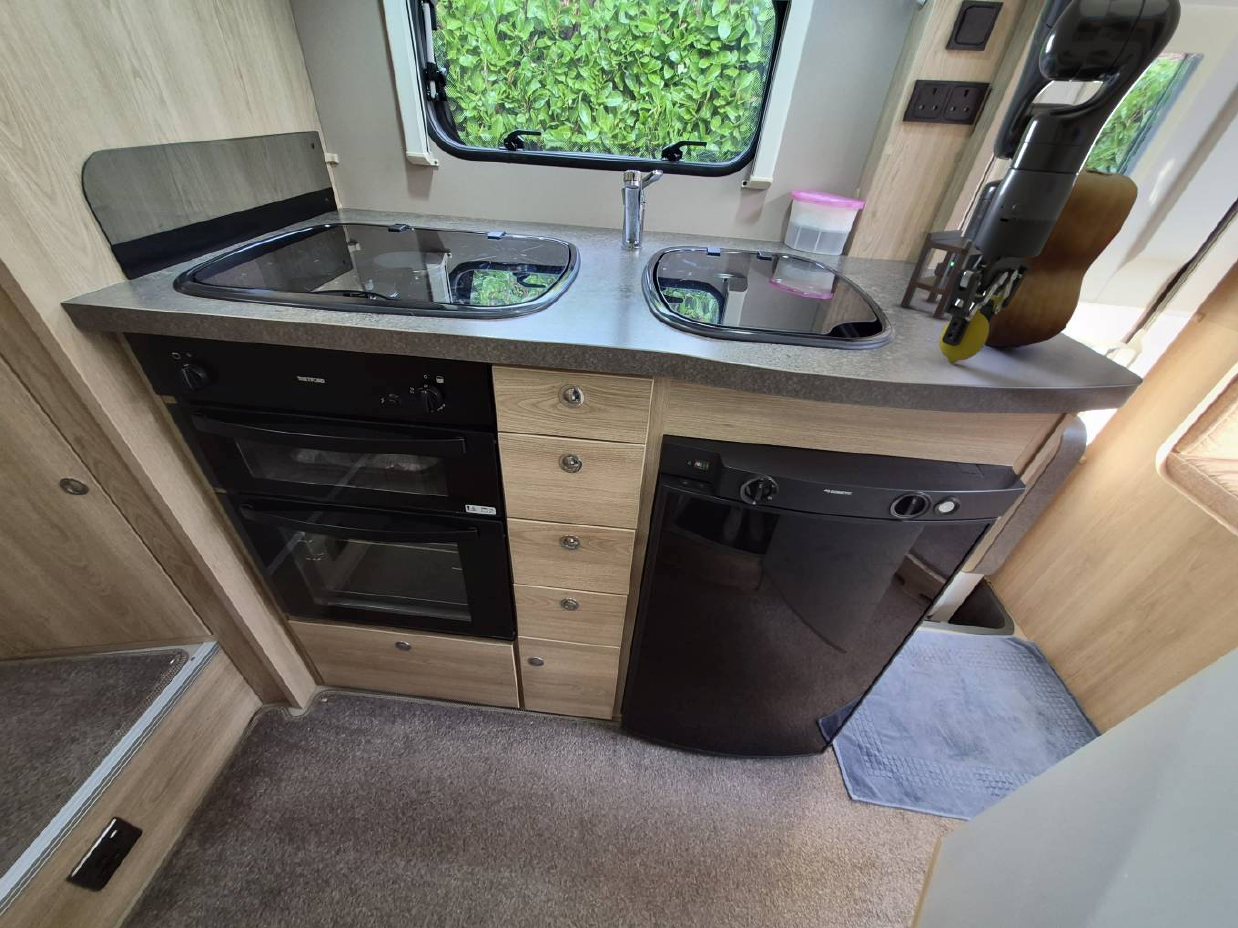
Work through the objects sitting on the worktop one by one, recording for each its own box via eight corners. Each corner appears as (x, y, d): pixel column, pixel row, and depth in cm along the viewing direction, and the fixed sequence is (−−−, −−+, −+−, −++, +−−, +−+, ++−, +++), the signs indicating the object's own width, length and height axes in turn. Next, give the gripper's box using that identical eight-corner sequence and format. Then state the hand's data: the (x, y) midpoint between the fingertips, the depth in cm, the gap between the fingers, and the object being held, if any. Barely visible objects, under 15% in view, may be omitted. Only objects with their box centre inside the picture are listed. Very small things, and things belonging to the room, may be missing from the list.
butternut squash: (1050, 369, 73) (1167, 176, 58) (950, 346, 79) (1033, 165, 64) (1045, 342, 83) (1145, 170, 68) (956, 323, 88) (1030, 161, 74)
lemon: (925, 361, 73) (949, 308, 69) (937, 352, 76) (960, 301, 72) (966, 374, 70) (993, 319, 65) (976, 363, 73) (1003, 311, 69)
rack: (899, 306, 96) (927, 232, 88) (929, 300, 100) (959, 229, 92) (938, 319, 90) (972, 242, 82) (968, 312, 94) (1003, 238, 87)
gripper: (1020, 205, 67) (963, 325, 77) (961, 209, 61) (908, 339, 71) (1083, 215, 62) (1014, 342, 72) (1026, 220, 56) (959, 358, 66)
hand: (961, 340), depth 71 cm, fingers closed on lemon, 5 cm apart
